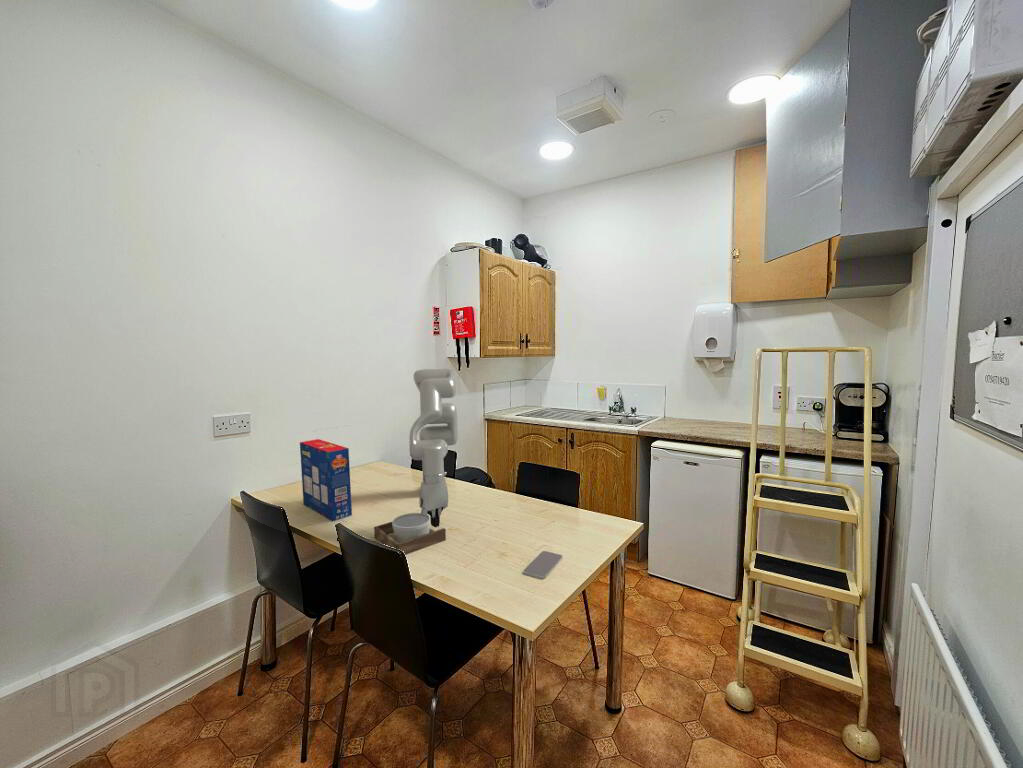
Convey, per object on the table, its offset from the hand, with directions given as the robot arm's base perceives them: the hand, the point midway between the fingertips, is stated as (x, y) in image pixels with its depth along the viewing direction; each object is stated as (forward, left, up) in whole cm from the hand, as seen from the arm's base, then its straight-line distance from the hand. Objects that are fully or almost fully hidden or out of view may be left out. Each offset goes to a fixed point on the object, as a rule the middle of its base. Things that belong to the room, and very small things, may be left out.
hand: (435, 525), depth 153 cm
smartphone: (+44, +12, -2) cm, 46 cm away
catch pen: (0, -10, -2) cm, 10 cm away
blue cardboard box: (-49, -24, -2) cm, 55 cm away
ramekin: (0, -10, -2) cm, 10 cm away
